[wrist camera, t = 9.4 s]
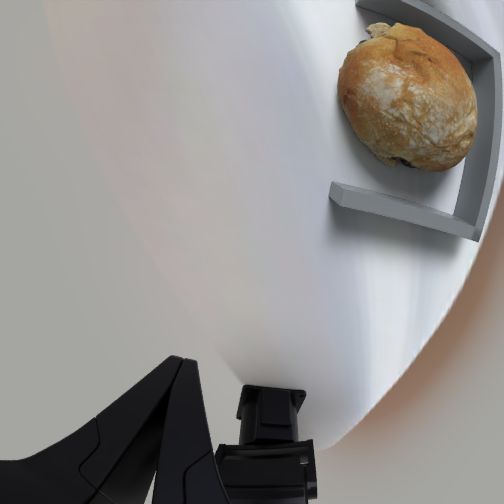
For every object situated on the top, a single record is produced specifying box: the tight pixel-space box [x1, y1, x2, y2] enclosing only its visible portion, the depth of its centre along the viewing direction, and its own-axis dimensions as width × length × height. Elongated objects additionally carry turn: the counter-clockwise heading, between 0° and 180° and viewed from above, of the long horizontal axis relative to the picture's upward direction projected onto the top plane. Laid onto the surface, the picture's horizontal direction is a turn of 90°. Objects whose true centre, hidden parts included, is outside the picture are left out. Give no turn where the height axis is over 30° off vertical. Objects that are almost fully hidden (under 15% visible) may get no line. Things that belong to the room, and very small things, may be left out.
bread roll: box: [338, 23, 477, 172], centre depth 12 cm, size 10×10×8 cm
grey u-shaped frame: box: [329, 0, 502, 242], centre depth 13 cm, size 16×12×3 cm
